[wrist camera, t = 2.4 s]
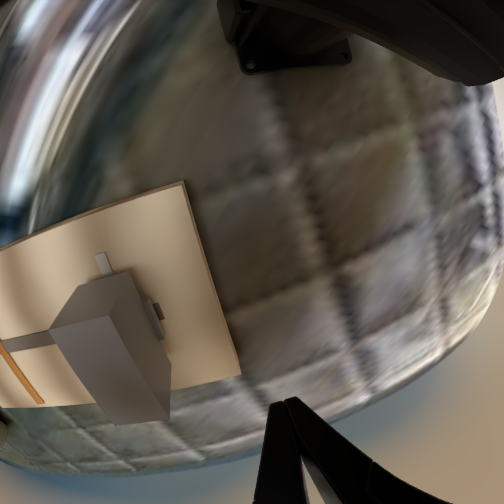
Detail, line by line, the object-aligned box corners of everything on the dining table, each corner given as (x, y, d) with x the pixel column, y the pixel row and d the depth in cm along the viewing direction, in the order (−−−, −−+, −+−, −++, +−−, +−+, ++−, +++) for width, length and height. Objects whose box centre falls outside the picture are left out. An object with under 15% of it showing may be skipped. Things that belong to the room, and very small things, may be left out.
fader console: (183, 180, 15) (181, 185, 13) (237, 355, 20) (242, 376, 18) (-58, 277, 13) (-73, 289, 11) (9, 393, 18) (1, 409, 16)
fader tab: (136, 265, 14) (116, 313, 10) (176, 357, 16) (175, 417, 12) (76, 282, 14) (42, 331, 9) (122, 369, 16) (110, 426, 12)
